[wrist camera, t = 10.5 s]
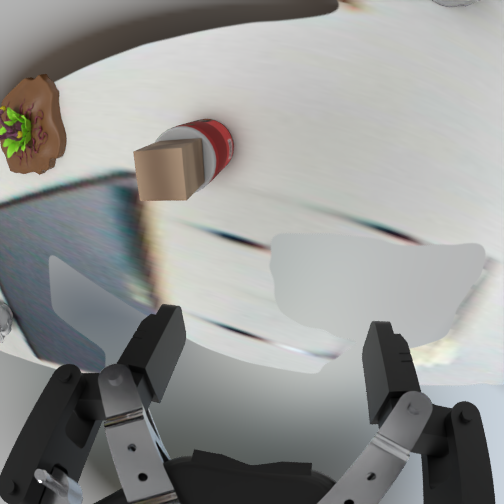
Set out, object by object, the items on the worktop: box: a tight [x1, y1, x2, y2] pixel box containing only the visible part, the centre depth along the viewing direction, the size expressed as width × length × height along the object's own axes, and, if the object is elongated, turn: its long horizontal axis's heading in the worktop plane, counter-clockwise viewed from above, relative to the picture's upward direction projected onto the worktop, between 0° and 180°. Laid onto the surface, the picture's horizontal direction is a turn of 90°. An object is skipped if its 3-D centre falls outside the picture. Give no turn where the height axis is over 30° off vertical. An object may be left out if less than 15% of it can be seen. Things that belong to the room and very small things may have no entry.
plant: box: [0, 74, 66, 175], centre depth 38 cm, size 20×20×11 cm
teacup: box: [0, 303, 13, 343], centre depth 69 cm, size 12×15×10 cm
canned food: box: [155, 119, 233, 193], centre depth 37 cm, size 8×8×11 cm
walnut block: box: [134, 138, 205, 201], centre depth 29 cm, size 5×5×6 cm
